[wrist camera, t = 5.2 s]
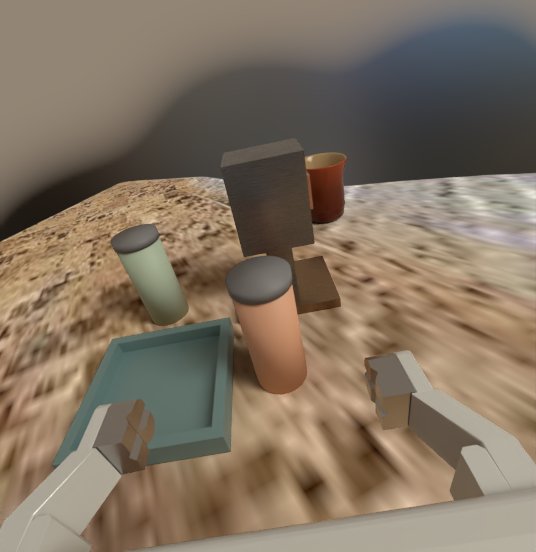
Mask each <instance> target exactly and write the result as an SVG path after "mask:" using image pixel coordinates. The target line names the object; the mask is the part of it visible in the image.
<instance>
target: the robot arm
mask: <svg viewBox="0 0 536 552" xmlns="http://www.w3.org/2000/svg"><path fill="white" fill-rule="evenodd" d="M364 362H365V368H366V370H367V372H366V373H365V381H366V386H367V390H368V393H369V396H370V399H371V401H373V402H374V403H375V404H376V414H377V417H378V419H379V422H380V424H381V427H382V429H383V430H388V429H395V428H402V427H408V428H409V429H410V430H411V431H412V432H414V433H415V434H416V435H417V436H418V437H419V438H420V439H421V440H422V441H424V442H425V443H426V444H427V445H428V446H429V447H430V448H431V449H433V450H434V451H435V452H436V453H437V454H438V455H439V456H440V457H442V458H443V459H444V460H445V461H446V462H447V463H448V464H449V465H450V466H452V467H453V468H454V469H455V470H456V471H455V474H454V478H453V481H452V485H451V488H450V493H451V495H452V497H453V499H454V501H448V502H442V503H435V504H429V505H422V506H416V507H409V508H403V509H396V510H389V511H383V512H376V513H370V514H363V515H357V516H350V517H344V518H337V519H331V520H324V521H318V522H311V523H305V524H298V525H292V526H285V527H278V528H272V529H265V530H259V531H252V532H246V533H239V534H233V535H226V536H220V537H213V538H207V539H200V540H194V541H187V542H181V543H174V544H168V545H161V546H154V547H148V548H141V549H135V550H128V551H122V552H536V465H535V463H534V462H533V460H532V459H531V458H530V456H529V455H528V454H527V452H526V451H525V450H524V448H523V447H522V446H521V444H520V443H519V442H518V440H517V439H516V437H514V436H512V435H511V434H509V433H508V432H506V431H504V430H503V429H501V428H500V427H498V426H496V425H495V424H493V423H492V422H490V421H488V420H487V419H485V418H484V417H482V416H480V415H479V414H477V413H476V412H474V411H473V410H471V409H469V408H468V407H466V406H465V405H463V404H461V403H460V402H458V401H457V400H455V399H453V398H452V397H450V396H449V395H447V394H445V393H444V392H442V391H441V390H439V389H433V388H432V386H431V385H430V383H429V381H428V380H427V378H426V376H425V375H424V373H423V371H422V370H421V368H420V366H419V365H418V363H417V361H416V360H415V358H414V356H413V355H412V353H411V352H410V351H409V350H406V351H401V352H396V353H388V354H383V355H378V356H373V357H368V358H365V360H364ZM144 407H145V403H144V402H143V401H142V399H138V400H131V401H125V402H118V403H111V404H106V405H100V406H98V407H97V408H96V409H95V411H94V413H93V415H92V417H91V420H90V422H89V424H88V426H87V429H86V431H85V433H84V435H83V438H82V440H81V442H80V444H79V447H78V449H77V451H75V452H72V453H71V454H70V455H69V456H68V457H67V458H66V459H65V460H64V461H63V462H62V463H61V464H60V465H59V466H58V467H57V468H56V469H55V470H54V471H53V472H52V473H51V474H50V475H49V476H48V477H47V478H46V479H45V480H44V481H43V482H42V483H41V484H40V485H39V486H38V487H37V488H36V489H35V490H34V491H33V492H32V493H31V494H30V495H29V496H28V497H27V498H26V499H25V500H24V501H23V502H22V503H21V504H20V505H19V506H18V507H17V508H16V509H15V510H14V511H13V512H12V513H11V514H10V515H9V516H8V517H7V518H6V519H5V521H4V523H3V525H2V527H1V529H0V552H90V551H91V548H92V546H91V543H90V542H89V541H87V540H86V539H85V538H83V537H82V536H80V535H81V534H82V532H83V531H84V529H85V528H86V526H87V525H88V523H89V522H90V521H91V519H92V518H93V516H94V515H95V513H96V512H97V511H98V509H99V508H100V506H101V505H102V503H103V502H104V501H105V499H106V498H107V496H108V495H109V493H110V492H111V491H112V489H113V488H114V486H115V485H116V483H117V482H118V481H119V479H120V478H121V476H122V474H127V473H132V472H137V471H142V470H145V467H146V463H147V459H148V455H149V451H150V450H149V448H148V446H147V444H148V443H149V442H150V441H151V440H152V438H153V435H154V431H155V421H154V418H153V415H152V413H151V412H150V411H148V410H146V409H144Z"/></svg>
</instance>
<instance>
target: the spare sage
mask: <svg viewBox="0 0 536 552" xmlns="http://www.w3.org/2000/svg"><path fill="white" fill-rule="evenodd" d="M111 245H112V247H113V249H114V250H115V252H116V253H117V254H118V256H119V258H120V260H121V262H122V264H123V266H124V267H125V269H126V271H127V273H128V275H129V277H130V279H131V281H132V283H133V285H134V286H135V288H136V290H137V292H138V294H139V296H140V298H141V300H142V302H143V304H144V305H145V307H146V309H147V311H148V313H149V315H150V317H151V319H152V321H153V322H154V323H155V324H156V325H160V326H165V325H170V324H173V323H175V322H177V321H179V320H180V319H182V318H183V317H184V316H185V315H186V314H187V312H188V309H189V306H188V304H187V301H186V299H185V297H184V294H183V292H182V289H181V287H180V285H179V282H178V280H177V278H176V275H175V273H174V271H173V268H172V266H171V264H170V261H169V259H168V257H167V254H166V252H165V249H164V247H163V245H162V242H161V240H160V238H159V233H158V231H157V228H156V226H155V225H152V224H143V225H138V226H134V227H131V228H128V229H126V230H124V231H122V232H120V233H118V234H117V235H115V236H114V237H113V238H112V240H111Z"/></svg>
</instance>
